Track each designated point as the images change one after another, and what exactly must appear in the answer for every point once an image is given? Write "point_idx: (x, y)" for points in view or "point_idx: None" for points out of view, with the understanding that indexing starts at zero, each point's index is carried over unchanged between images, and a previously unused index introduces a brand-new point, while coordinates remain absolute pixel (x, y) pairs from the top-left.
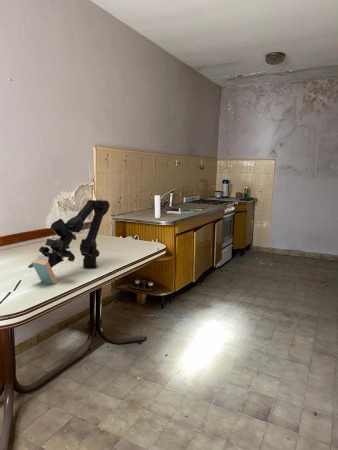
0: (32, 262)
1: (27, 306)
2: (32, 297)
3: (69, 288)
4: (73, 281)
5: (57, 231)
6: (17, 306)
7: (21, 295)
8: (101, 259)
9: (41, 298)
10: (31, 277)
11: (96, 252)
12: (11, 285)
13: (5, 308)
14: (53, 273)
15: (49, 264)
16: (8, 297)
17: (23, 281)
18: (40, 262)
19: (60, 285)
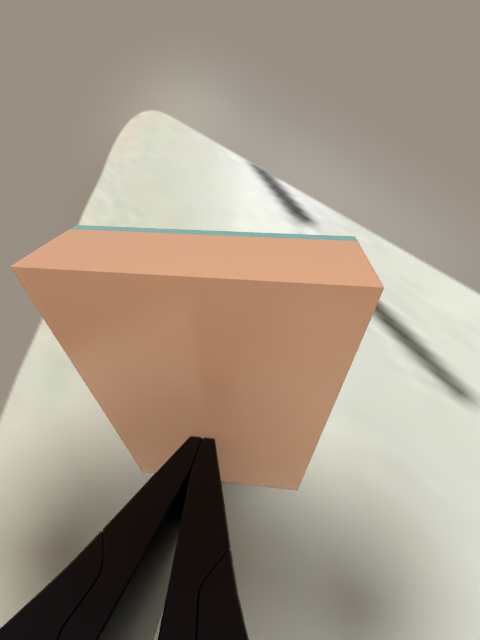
0: (335, 236)
1: (115, 159)
2: (153, 218)
3: (10, 402)
4: (30, 582)
5: None
6: (152, 147)
7: (221, 214)
8: None
9: (105, 226)
10: (469, 501)
11: None
12: (404, 288)
13: (182, 125)
14: (115, 421)
15: (49, 324)
16: (257, 181)
17: (418, 380)
18: (174, 243)
19: (99, 428)
